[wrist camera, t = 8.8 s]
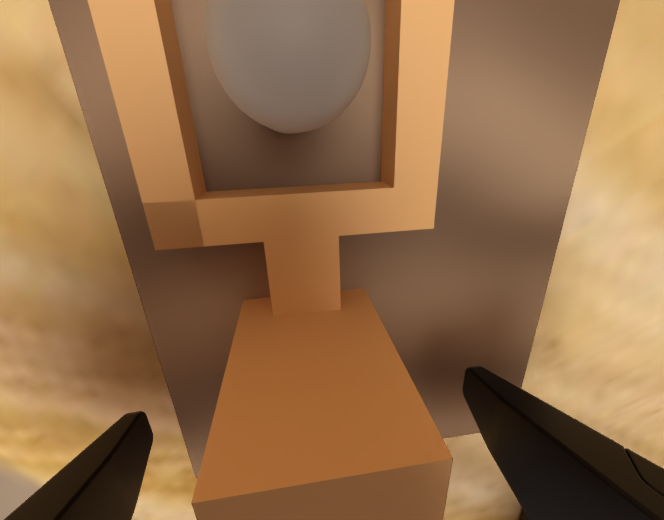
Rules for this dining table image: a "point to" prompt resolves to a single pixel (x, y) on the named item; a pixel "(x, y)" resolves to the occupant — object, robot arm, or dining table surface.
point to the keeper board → (362, 177)
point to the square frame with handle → (298, 285)
